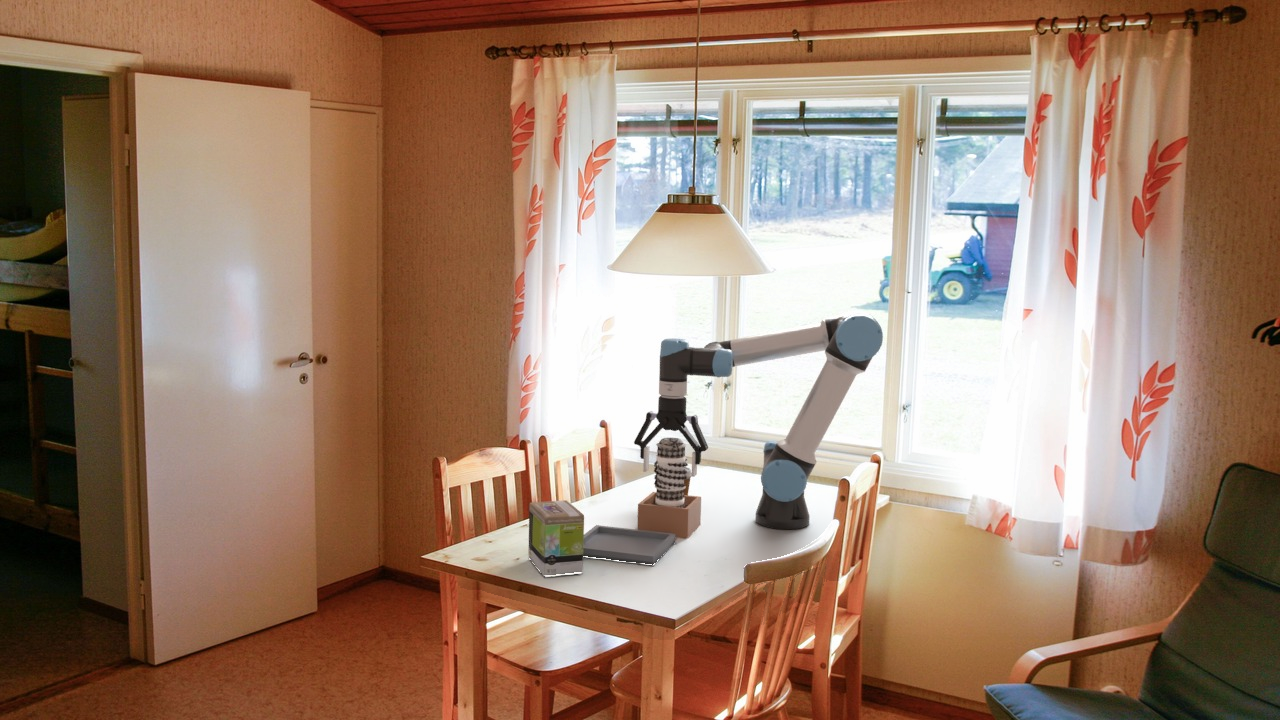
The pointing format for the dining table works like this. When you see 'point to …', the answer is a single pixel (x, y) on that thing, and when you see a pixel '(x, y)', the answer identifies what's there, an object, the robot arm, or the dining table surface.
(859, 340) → the robot arm
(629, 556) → the slate tray
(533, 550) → the tea box
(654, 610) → the dining table surface
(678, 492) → the decorative candle
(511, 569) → the dining table surface
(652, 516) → the terracotta holder
